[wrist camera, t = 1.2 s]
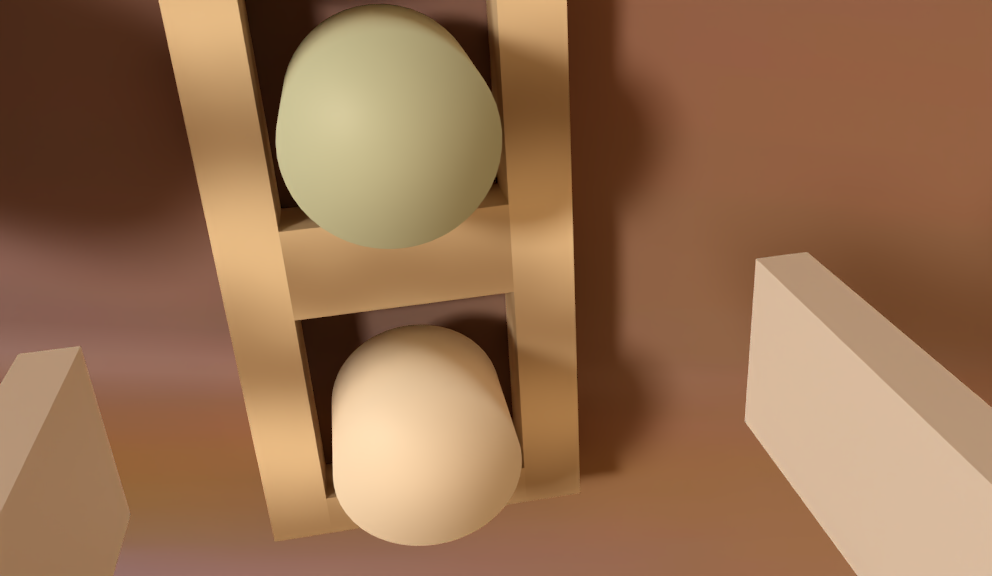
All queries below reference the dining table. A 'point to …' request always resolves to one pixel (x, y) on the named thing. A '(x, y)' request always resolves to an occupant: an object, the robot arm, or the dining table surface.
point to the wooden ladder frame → (385, 252)
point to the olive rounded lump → (386, 128)
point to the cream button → (422, 437)
